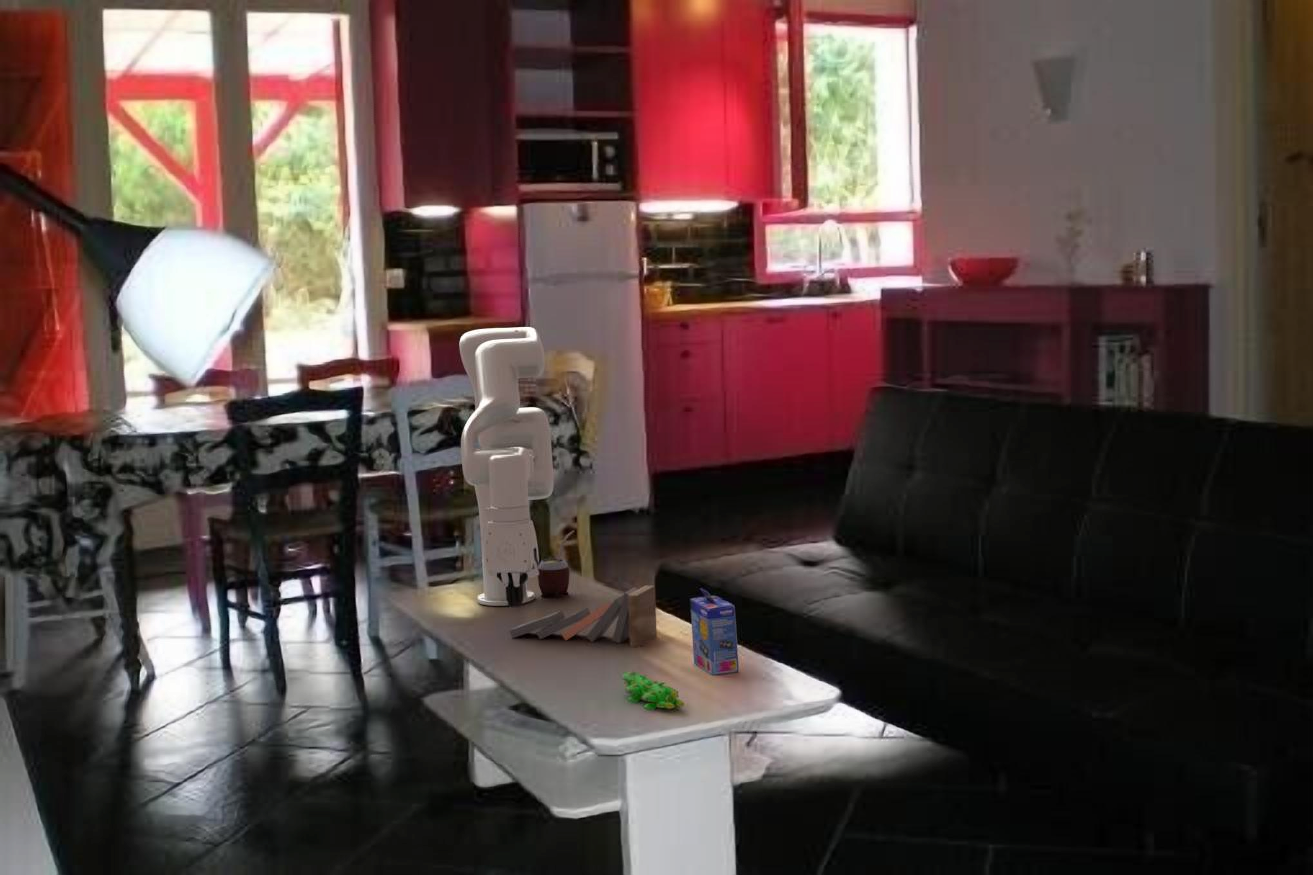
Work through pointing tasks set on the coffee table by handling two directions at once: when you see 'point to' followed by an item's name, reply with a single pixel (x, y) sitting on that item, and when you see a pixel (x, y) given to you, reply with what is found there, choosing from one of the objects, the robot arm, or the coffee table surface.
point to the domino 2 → (563, 623)
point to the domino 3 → (585, 622)
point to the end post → (642, 616)
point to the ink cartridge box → (714, 634)
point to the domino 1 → (537, 624)
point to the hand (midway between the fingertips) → (515, 605)
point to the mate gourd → (554, 575)
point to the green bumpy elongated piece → (650, 691)
